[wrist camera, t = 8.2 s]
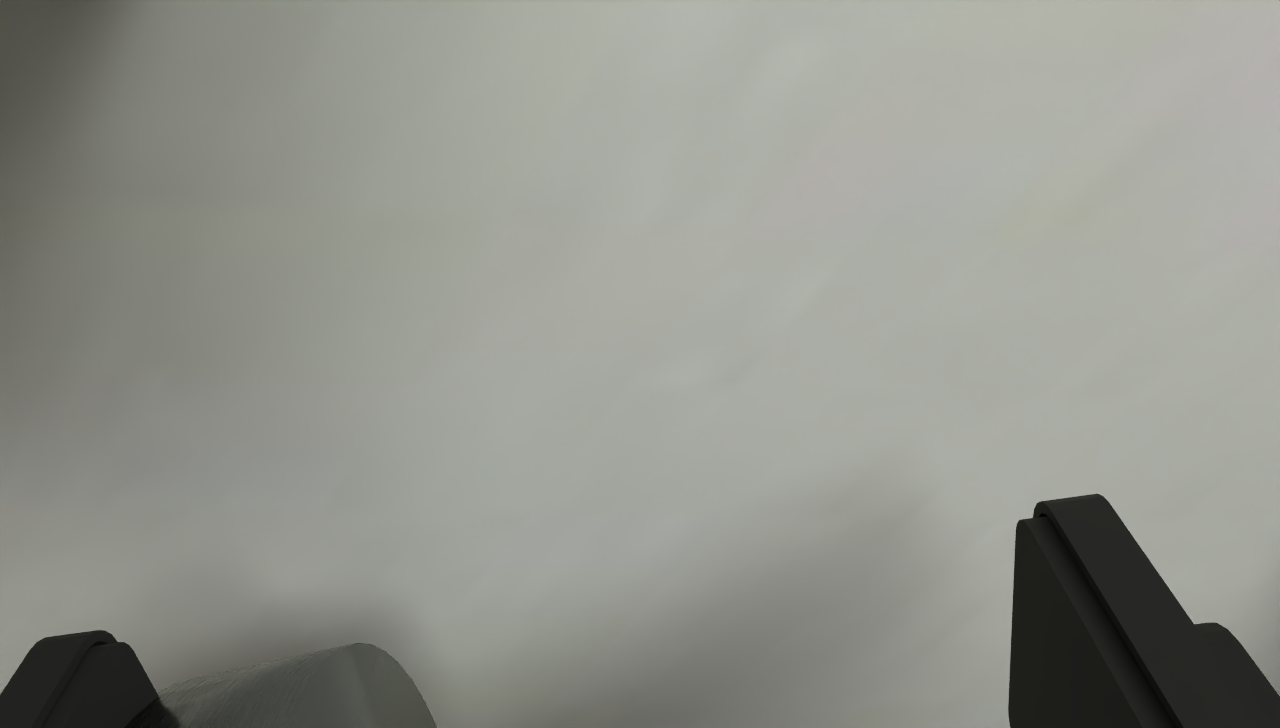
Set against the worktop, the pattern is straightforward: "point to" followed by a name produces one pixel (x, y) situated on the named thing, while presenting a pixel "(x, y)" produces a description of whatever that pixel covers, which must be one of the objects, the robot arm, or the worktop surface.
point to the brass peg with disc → (296, 695)
